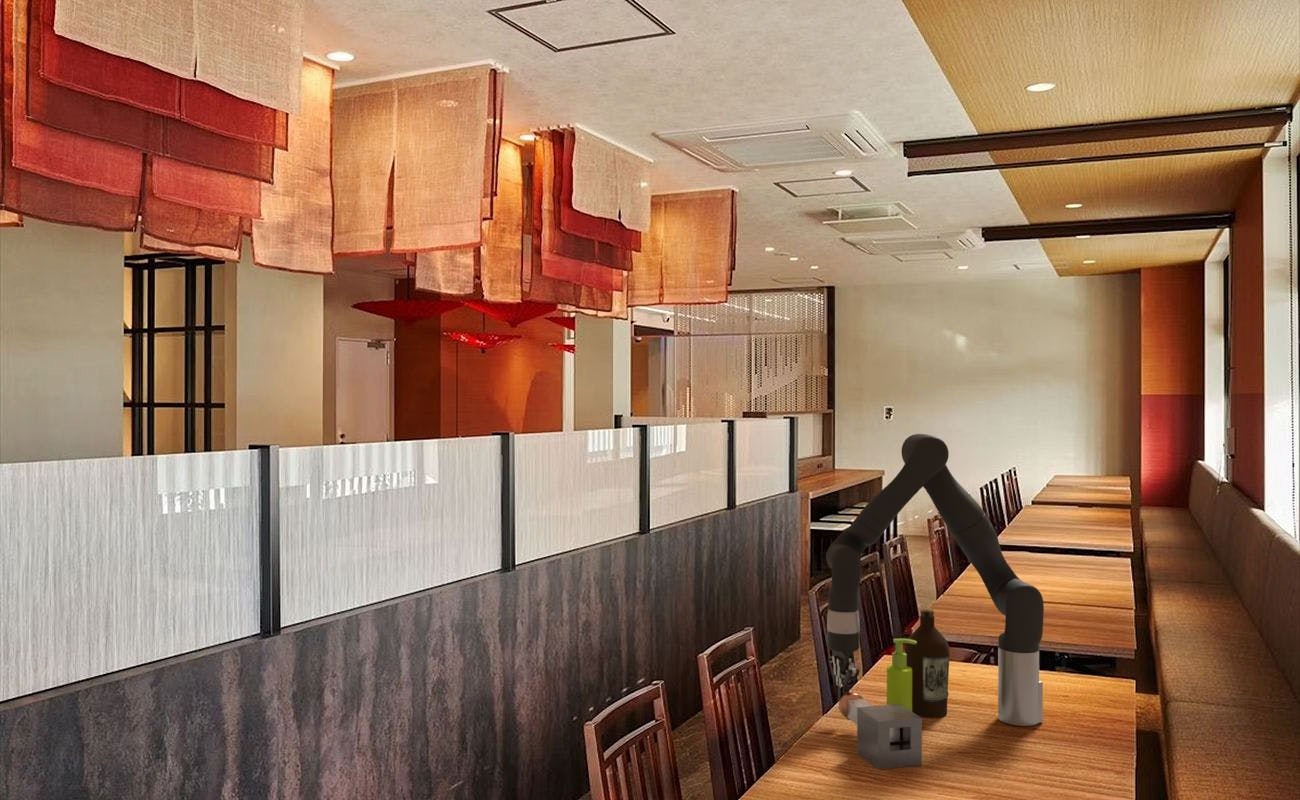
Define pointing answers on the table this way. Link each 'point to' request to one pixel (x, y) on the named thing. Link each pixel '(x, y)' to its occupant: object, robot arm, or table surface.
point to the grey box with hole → (877, 736)
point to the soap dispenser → (900, 677)
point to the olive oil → (928, 668)
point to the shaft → (849, 711)
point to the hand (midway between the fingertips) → (843, 702)
